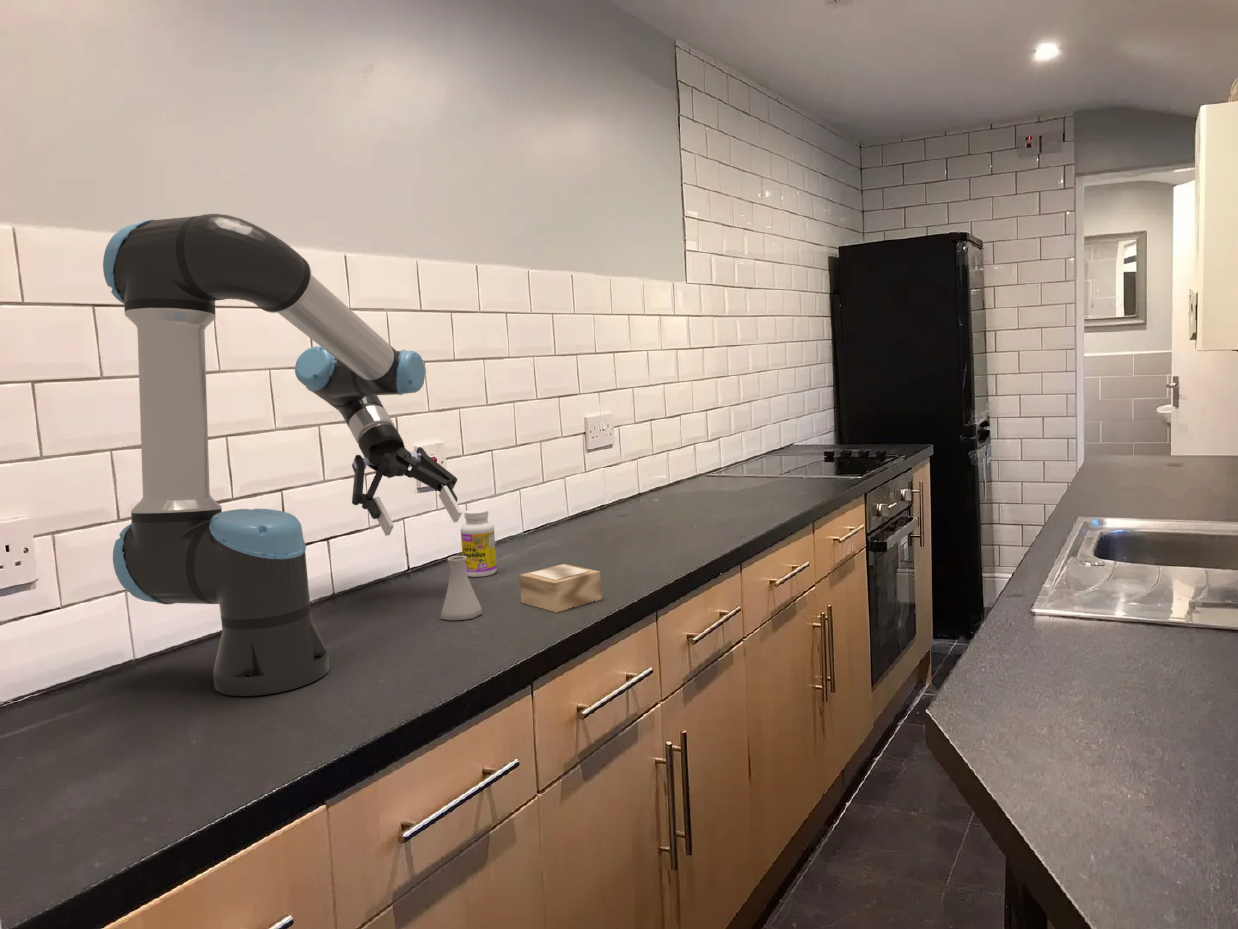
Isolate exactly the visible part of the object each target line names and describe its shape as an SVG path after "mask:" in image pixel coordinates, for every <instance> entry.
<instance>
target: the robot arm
mask: <svg viewBox="0 0 1238 929" xmlns="http://www.w3.org/2000/svg"><path fill="white" fill-rule="evenodd" d="M102 259H103V260H102V269H103V276H104V280H105V283H106V285H107V287H109V288H111V292H110V293H111V294H112V295H113V296H114V298H115V299H116V300H117V301H119V302H120V303H122V304H123V305H124V316H125V317H126V318H128V320H130V322H132V323H133V325H135V327H136V329H137V330H136V332H137V354H138V355H137V358H138V385H139V386H138V387H139V388H138V389H139V419H140V440H141V441H140V443H141V444H140V448H141V451H140V452H141V453H140V454H141V473H142V474H141V476H142V477H141V479H142V480H141V483H142V498H141V499H140V501H139V502H138V503H137V504H136V505H135V506H134V507H133V508H132V509H131V512H130V517H131V518H130V519H131V520H130V521H131V523H130V524H128V525H126V526H125V527H124V528H123V529H122V530H121V531H120V533H119V538H117V539H116V540H115V542H114V545H113V550H112V551H113V552H112V564H113V569H114V573H115V576H116V578H117V579H118V582H119V584H120V585H121V587H123V588H124V590H126V591H127V592H128V593H129V594H130V595H131V596H132V597H134V598H136V599H138V600H141V601H145V602H151V603H157V604H162V605H173V604H191V605H192V604H194V605H195V604H196V605H219V612H220V620H221V628H222V630H221V636H220V640H219V645H218V648H217V653H216V657H215V661H214V666H213V669H212V671H213V672H212V674H213V676H212V677H213V684H214V686H213V687H214V689H215V691H216V692H218V693H220V694H223V695H227V696H234V697H255V696H264V695H265V696H266V695H272V694H278V693H283V692H287V691H290V690H295V689H297V688H301V687H303V686H306V685H309V684H312V683H313V682H316V681H318V680H320V679H322V677H324V676H325V675H326V674H328V672H329V670H330V660H329V658H330V657H329V653H328V650H327V648H326V645H325V643H324V641H323V639H322V637H321V635H320V633H319V630H318V629H317V626H316V624H315V622H314V620H313V618H312V612H311V611H312V610H311V609H312V608H311V601H310V600H311V599H310V598H311V597H310V589H309V579H308V568H307V567H308V566H307V557H306V550H307V546H306V542H305V540H304V534H303V528H302V524H301V522H300V520H299V519H298V518H297V517H296V515H294V514H292V513H290V512H286V511H283V510H277V509H268V508H253V509H252V508H251V509H249V508H237V509H231V510H230V509H229V510H225V511H223V510H222V509H223V508H222V505H221V504H220V503H218V502H217V501H216V500H215V499H214V498H213V497H212V496H211V492H210V490H211V489H210V487H211V486H210V466H209V465H210V464H209V463H210V461H209V434H208V433H209V430H208V427H209V426H208V402H207V401H208V400H207V396H208V394H207V368H206V366H207V365H206V363H207V362H206V336H205V333H206V332H205V330H206V328H207V327H208V326H209V325H210V324H212V322H214V321H215V320H216V319H217V318H216V301H224V300H239V301H245V302H249V303H252V304H254V305H256V306H257V307H258V308H260V309H261V310H262V311H265V312H267V313H272V314H275V313H276V314H279V315H280V316H281V317H282V318H284V319H285V320H286V321H287V322H289V323H290V324H292V325H293V327H295V328H297V329H298V330H299V331H300V332H302V333H303V334H305V335H306V336H307V337H308V338H310V339H311V340H312V341H313V342H315V343H316V344H317V345H318V346H317V345H316V346H312V347H308V348H307V349H306V350H304V351H303V352H301V354H299V356H298V358H297V359H296V363H295V366H294V373H295V376H296V379H297V380H298V382H300V383H301V384H302V385H303V386H305V387H306V389H307V390H308V391H309V392H311V393H313V394H315V395H316V396H318V397H319V398H320V399H322V400H323V401H324V402H326V403H328V404H329V405H330V406H331V407H333V408H334V409H335V410H337V411H338V412H339V413H340V414H341V416H342V418H343V420H344V421H345V423H346V425H347V427H348V428H349V430H350V433H351V434H352V436H353V438H354V440H355V442H356V443H357V445H358V448H359V450H360V451H361V453H362V455H363V456H362V455H361V454H355V457H354V458H353V461H352V464H351V467H352V470H353V473H354V474H353V475H354V478H353V486H352V498H351V503H352V505H354V506H358V505H361V508H362V509H364V510H367V511H368V513H369V515H370V516H371V519H373V520H377V521H378V524H379V526H380V528H381V530H382V531H383V534H384V536H390V535H391V533H392V530H393V529H394V527H395V523H394V522H393V521H392V519H391V517H390V515H389V513H388V511H387V509H386V507H385V506H384V503H383V502H382V500H381V498H380V496H375V494H376V491H377V490H378V488H379V485H380V482H381V481H382V478H383V477H385V478H386V477H387V479H391V478H394V477H403V476H405V477H407V478H409V479H410V478H411V479H412V478H413V479H415V480H417V481H419V482H420V483H422V484H424V485H426V486H427V487H430V488H431V489H434V490H435V491H437V492H439V494H438V497H439V499H440V500H441V502H442V504H443V506H444V508H445V510H446V511H447V514H449V517H450V518H451V520H452V523H458V521H459V520H460V519H461V516H462V514H463V511H462V510H461V508H460V506H459V505H458V503H457V502H458V497H457V495H456V493H455V492H454V488H455V486H456V484H457V482H458V478H457V477H456V475H453V473H451V472H450V471H448V470H447V469H446V468H445V467H443V466H442V465H441V464H440V463H438V462H437V461H436V460H435V459H433V458H432V457H431V456H429V455H428V454H427V452H426V451H425V449H424V448H423V447H422V446H421V447H420V446H419V447H417V449H416V450H414V451H409V450H408V449H407V448H406V446H405V443H404V440H403V438H402V436H401V435H400V432H399V431H398V429H397V428H396V427H395V424H394V422H393V420H392V418H391V417H390V415H389V414H388V412H387V410H386V409H385V407H384V405H383V403H382V401H381V400H380V398H379V396H389V395H390V396H391V395H393V396H394V395H397V396H402V395H406V394H415V393H417V392H420V391H421V389H422V387H424V384H425V378H426V367H425V362H424V360H423V358H422V356H421V355H420V354H419V353H418V352H417V351H414V350H406V349H401V350H397V349H396V348H394V347H393V346H392V345H391V344H389V342H388V341H386V340H385V339H384V338H383V337H382V336H381V335H379V334H378V333H377V331H375V330H374V329H373V328H372V327H371V326H369V324H368V323H366V322H365V321H364V320H363V319H361V317H359V316H358V314H356V313H355V312H354V311H353V310H352V309H350V308H349V307H348V306H347V305H346V304H345V303H344V302H343V301H341V299H339V298H338V297H337V296H336V295H335V294H334V293H333V292H331V291H330V289H328V288H327V287H326V286H325V285H324V284H323V283H321V281H319V280H318V279H317V278H316V277H314V275H313V274H312V270H311V266H310V264H309V262H308V261H307V260H306V259H305V258H304V257H303V255H300V253H299V252H297V251H296V250H295V249H294V248H292V247H291V246H290V245H289V244H288V243H286V242H284V241H283V240H282V239H280V238H279V237H277V236H276V235H274V234H272V233H271V232H270V231H267V230H266V229H264V228H262V227H261V226H260V227H259V225H256V224H254V223H253V222H252V223H251V222H249V221H248V220H245V219H242V218H239V217H235V216H232V215H228V214H220V213H206V214H201V215H195V216H185V217H175V218H165V219H164V218H163V219H149V220H144V221H141V222H139V223H133V224H130V225H126V226H124V227H122V228H121V229H119V230H118V231H117V232H115V234H114V235H113V236H112V237H111V238H110V239H109V241H108V243H107V245H106V247H105V250H104V254H103V258H102ZM367 467H368V468H370V469H372V470H373V471H375V472H376V473H375V475H374V476H373V478H372V481H371V482H370V486H369V488H368V491H367V492H366V493H364V492H363V491H364V481H365V471H366V468H367ZM409 467H411V469H409Z"/></svg>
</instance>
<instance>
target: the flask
mask: <svg viewBox="0 0 1238 929" xmlns="http://www.w3.org/2000/svg"><path fill="white" fill-rule="evenodd" d="M465 561H466V556H462V555H456V556H455V555H453V556H450V557H448V558H447V563H448V564H449V578H448V585H447V589H446V590H447V591H446V592H445V593H446V594H445V597H444V598H445V599H444V602H443V605H442V610H441V612H440V613H441V614H440V618H439V619H441V620H447V621H459V620H460V621H461V620H462V621H463V620H470V619H474V618H476V617H478V616H481V615H482V613H483V608H482V606H481V603H480V602H479V599H478V597H477V595H476V593H475V590H474V589H473V586H472V583H471V581H470V579H469V576H468V575H467V572H466V567H465Z"/></svg>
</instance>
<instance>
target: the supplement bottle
mask: <svg viewBox="0 0 1238 929" xmlns="http://www.w3.org/2000/svg"><path fill="white" fill-rule="evenodd" d="M488 510H489V509H486V508H475V509H468V510H465V511H464V513H463V514H464V515H463V516H464V518H465V523H464V524H463V525H462V526H461V528H460V539H461V542H460V543H461V553H462V554H461V556H466V561H465V567H466V572H467V575H468V577H470V578H471V577H472V578H479V577H481V578H482V577H488V576H491V575H493V574H495V573H496V572H497V568H498V566H497V565H498V564H497V552H496V551H497V550H496V537H495V526H494V524H493V523H492V522H490V521H488V517H489V511H488Z"/></svg>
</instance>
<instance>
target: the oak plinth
mask: <svg viewBox="0 0 1238 929" xmlns="http://www.w3.org/2000/svg"><path fill="white" fill-rule="evenodd" d="M601 580H602V578H601V571H599V570H595V569H590V568H586V567H580V566H576V565H572V564H567V563H562V564H558V565H553V566H550V567H545V568H541V569H537V570H534V571H530V572H525V573H521V574H519V586H520V587H519V588H520V602H522V603H521V604H524V603H525V605H528V606H531V607H532V606H533V607H536V608H539V609H542V608H543V609H542V610H547V611H550V612H554V613H560V612H563V611H567V610H569V608H570V609H572V607H574V608H576V607H580V606H583V605H584V606H585V605H587V603H588V604H591V603H594V602H593V601H595V602H598V601H601V600H602V598H603V596H602V583H601ZM590 602H591V603H590Z"/></svg>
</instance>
